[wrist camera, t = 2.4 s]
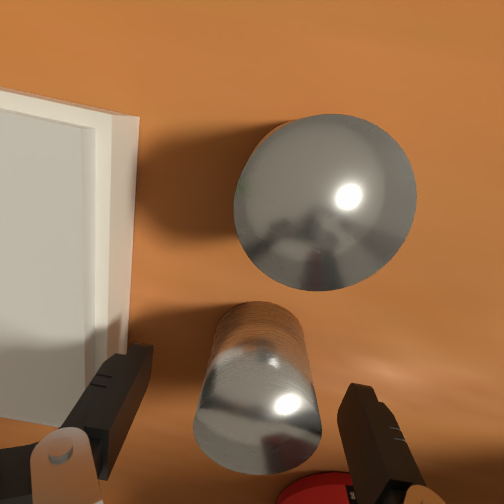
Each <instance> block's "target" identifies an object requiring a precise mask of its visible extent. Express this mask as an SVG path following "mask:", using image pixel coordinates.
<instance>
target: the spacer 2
mask: <svg viewBox="0 0 504 504" xmlns="http://www.w3.org/2000/svg"><path fill="white" fill-rule="evenodd" d="M416 199H417V193H416V182H415V177H414V173H413V170H412V167H411V165H410V162H409V160H408V158H407V156H406V155H405V153H404V151H403V150H402V148H401V147H400V146H399V144H398V143H397V142H396V141H395V140H394V139H393V138H392V137H391V136H390V135H389V134H388V133H387V132H385V131H384V130H382V129H381V128H379V127H378V126H376V125H374V124H372V123H370V122H368V121H366V120H363V119H360V118H357V117H354V116H348V115H341V114H323V115H316V116H310V117H306V118H302V119H297V120H293V121H289V122H286V123H284V124H281V125H279V126H277V127H276V128H274V129H272V130H271V131H270V132H268V133H267V134H266V135H265V136H264V137H263V138H262V139H261V140H260V141H259V143H258V144H257V145H256V147H255V149H254V150H253V152H252V154H251V156H250V158H249V160H248V161H247V163H246V165H245V167H244V169H243V171H242V173H241V175H240V178H239V180H238V183H237V187H236V191H235V197H234V205H233V206H234V222H235V228H236V232H237V235H238V238H239V241H240V243H241V245H242V247H243V249H244V251H245V252H246V254H247V255H248V257H249V258H250V259H251V261H252V262H253V263H254V264H255V265H256V266H257V267H258V268H259V269H260V270H261V271H262V272H263V273H265V274H266V275H267V276H269V277H270V278H272V279H274V280H275V281H277V282H279V283H281V284H284V285H286V286H289V287H292V288H296V289H300V290H307V291H330V290H336V289H341V288H344V287H347V286H351V285H353V284H356V283H358V282H360V281H362V280H364V279H366V278H368V277H369V276H371V275H373V274H374V273H375V272H377V271H378V270H379V269H381V268H382V267H383V266H384V265H385V264H386V263H387V262H388V261H390V259H391V258H392V257H393V256H394V255H395V254H396V252H397V251H398V250H399V248H400V247H401V245H402V244H403V242H404V241H405V239H406V237H407V235H408V233H409V230H410V228H411V225H412V222H413V219H414V214H415V210H416Z"/></svg>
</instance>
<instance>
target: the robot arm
mask: <svg viewBox="0 0 504 504" xmlns="http://www.w3.org/2000/svg"><path fill="white" fill-rule="evenodd" d="M152 356H153V345H149V344H143V343H138V342H133V343H132V344H131V346H130V348H129V350H128V351H127V353H126V355H124V354H118V353H115V354H114V355H112V356H111V357H110V358H108V359H107V360H106V361H104V362H103V364H102V365H101V367H100V368H99V370H98V371H97V373H96V375H95V376H94V377H93V379H92V380H91V382H90V383H89V386H87V388H86V389H85V391H84V392H83V394H82V395H81V397H80V398H79V400H78V401H77V403H76V404H75V406H74V407H73V409H72V410H71V412H70V413H69V415H68V416H67V418H66V420H65V421H64V423H63V424H62V425H61V426H60V427H59V429H58V430H55V431H53V432H51V433H49V434H48V435H46V436H45V437H44V438H43V439H42V440H40V441H39V442H37V443H34V444H31V445H26V446H19V447H13V448H6V449H0V504H103V500H102V496H101V492H100V487H99V483H98V479H100V480H106V481H107V480H108V478H109V475H110V473H111V471H112V468H113V466H114V464H115V462H116V459H117V457H118V455H119V452H120V450H121V448H122V445H123V443H124V441H125V438H126V436H127V434H128V431H129V429H130V427H131V424H132V422H133V420H134V417H135V415H136V413H137V410H138V408H139V406H140V403H141V401H142V399H143V396H144V394H145V392H146V389H147V386H148V383H149V379H150V374H151V365H152ZM337 423H338V428H339V432H340V436H341V440H342V444H343V448H344V452H345V456H346V460H347V464H348V467H349V471H350V475H351V479H352V483H353V487H354V491H355V495H356V499H357V503H358V504H446V503H445V502H444V501H443V500H442V499H441V498H440V497H439V496H438V495H437V494H436V493H435V492H433V491H432V490H430V489H429V488H427V487H426V485H425V483H424V480H423V478H422V476H421V474H420V472H419V469H418V467H417V465H416V463H415V461H414V458H413V456H412V454H411V452H410V450H409V447H408V445H407V443H406V442H405V439H404V437H403V434H402V432H401V431H400V428H399V426H398V423H397V421H396V419H395V417H394V415H393V414H392V412H391V411H390V410H389V409H388V408H387V406H386V405H385V404H384V403H382V402H378V399H377V397H376V395H375V392H374V390H373V388H372V387H371V386H366V385H361V384H356V383H351V384H350V385H349V387H348V389H347V392H346V394H345V396H344V398H343V400H342V403H341V405H340V407H339V409H338V414H337Z"/></svg>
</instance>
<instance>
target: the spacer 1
mask: <svg viewBox="0 0 504 504" xmlns="http://www.w3.org/2000/svg"><path fill="white" fill-rule="evenodd" d="M193 430H194V436H195V439H196V441H197V443H198V445H199V447H200V448H201V450H202V451H203V452H204V453H205V454H206V455H207V456H208V457H209V458H210V459H211V460H213V461H214V462H216V463H217V464H219V465H221V466H223V467H225V468H227V469H230V470H233V471H236V472H240V473H244V474H252V475H269V474H276V473H280V472H284V471H287V470H290V469H292V468H295V467H297V466H299V465H300V464H302V463H303V462H305V461H306V460H307V459H308V458H309V457H310V456H311V455H312V454H313V453H314V452H315V450H316V449H317V447H318V445H319V443H320V440H321V435H322V426H321V420H320V415H319V410H318V405H317V400H316V395H315V390H314V385H313V380H312V375H311V369H310V364H309V359H308V354H307V349H306V344H305V339H304V334H303V330H302V327H301V325H300V323H299V321H298V320H297V318H296V317H295V316H294V315H293V314H292V313H291V312H289V311H288V310H287V309H285V308H283V307H281V306H279V305H276V304H273V303H269V302H263V301H255V302H248V303H244V304H241V305H238V306H236V307H234V308H232V309H231V310H229V311H228V312H227V313H226V314H225V315H224V316H223V317H222V318H221V320H220V322H219V323H218V326H217V328H216V332H215V336H214V340H213V344H212V349H211V353H210V357H209V361H208V365H207V369H206V373H205V377H204V381H203V385H202V390H201V394H200V398H199V402H198V406H197V410H196V414H195V418H194V424H193Z"/></svg>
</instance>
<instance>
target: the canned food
mask: <svg viewBox="0 0 504 504" xmlns="http://www.w3.org/2000/svg"><path fill="white" fill-rule="evenodd" d="M276 504H358V503H357V499H356V495H355V491H354V487H353V483H352V479H351V475H350V473H343V472H327V473H319V474H314V475H310V476H307V477H304V478H302V479H299V480H297V481H295V482H294V483H292V484H290V485H289V486H288V487H287V488H285V489H284V490H283V491H282V492H281V494H280V495H279V497H278V499H277V503H276Z"/></svg>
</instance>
